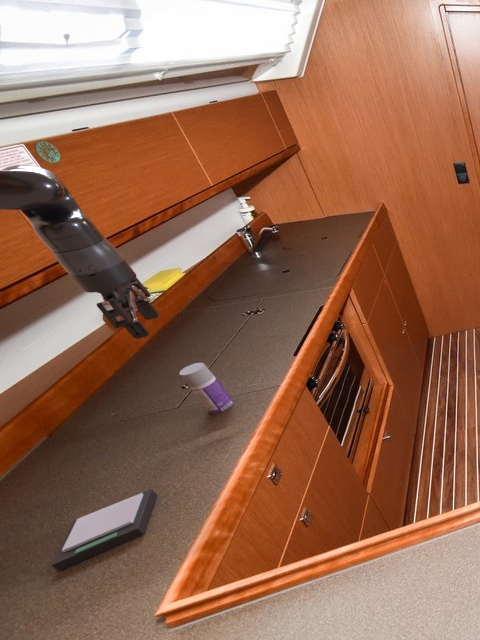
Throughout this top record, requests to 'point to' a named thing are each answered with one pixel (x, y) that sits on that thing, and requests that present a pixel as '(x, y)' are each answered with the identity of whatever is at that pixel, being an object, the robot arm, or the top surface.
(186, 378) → the container
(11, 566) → the top surface
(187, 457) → the top surface
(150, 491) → the scale
